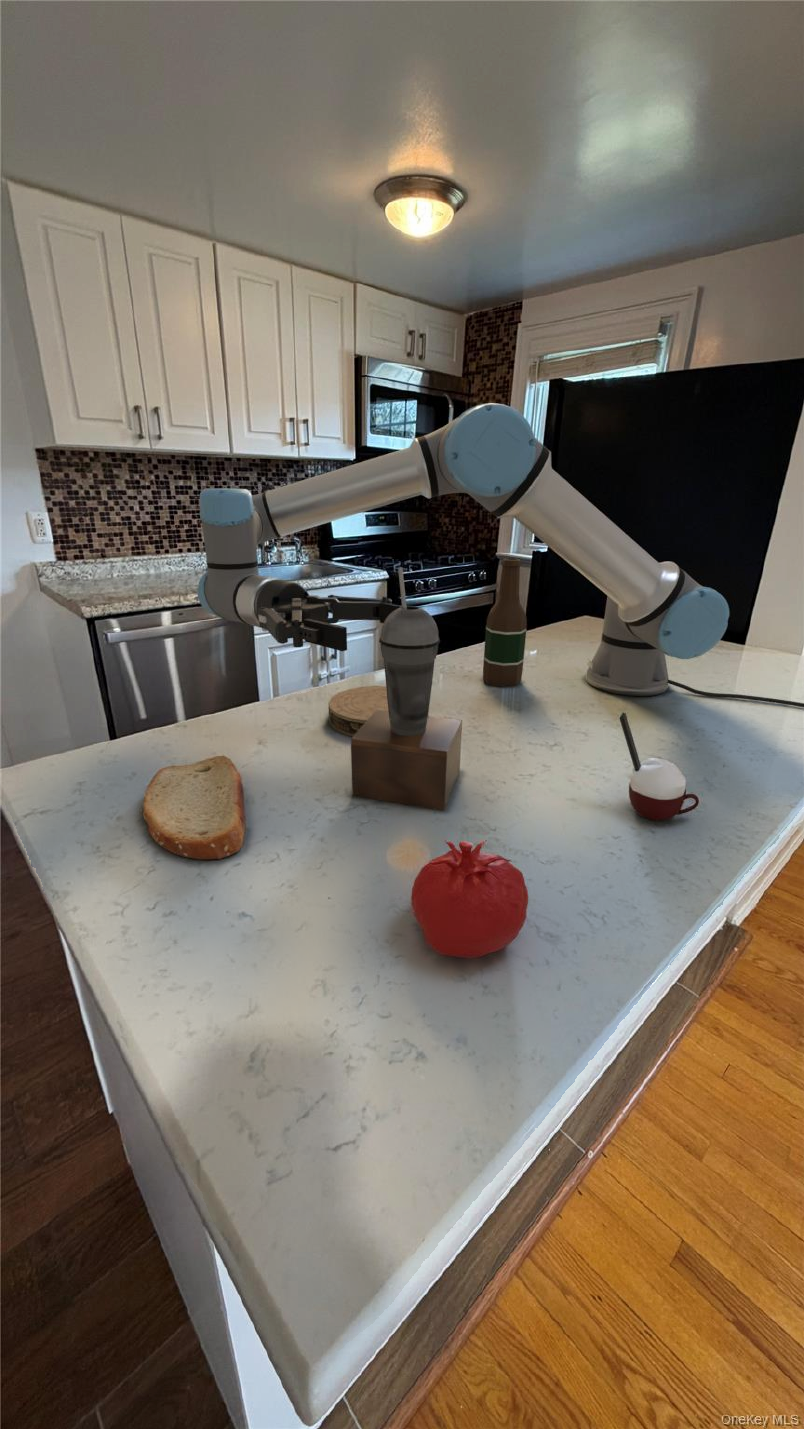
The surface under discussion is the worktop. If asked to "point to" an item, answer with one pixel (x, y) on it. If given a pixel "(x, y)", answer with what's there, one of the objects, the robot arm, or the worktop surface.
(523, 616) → the beer bottle
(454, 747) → the riser
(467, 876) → the pomegranate
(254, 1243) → the worktop surface
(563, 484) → the robot arm
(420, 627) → the beverage cup
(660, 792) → the cocoa
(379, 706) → the tan flat ringed disc
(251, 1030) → the worktop surface
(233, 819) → the bread slice
